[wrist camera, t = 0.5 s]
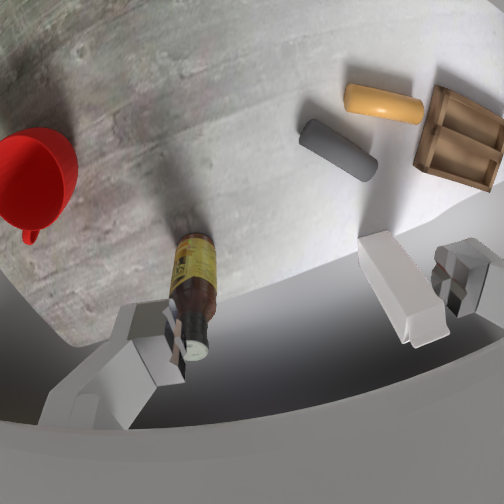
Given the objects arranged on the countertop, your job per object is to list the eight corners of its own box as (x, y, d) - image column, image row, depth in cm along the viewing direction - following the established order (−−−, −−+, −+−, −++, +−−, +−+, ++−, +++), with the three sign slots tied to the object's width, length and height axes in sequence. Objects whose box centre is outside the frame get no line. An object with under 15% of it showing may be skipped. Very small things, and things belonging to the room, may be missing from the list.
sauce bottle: (181, 227, 48) (167, 324, 32) (220, 236, 50) (226, 334, 33) (172, 261, 51) (159, 361, 35) (210, 269, 53) (211, 369, 36)
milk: (387, 256, 55) (447, 346, 37) (357, 265, 56) (410, 361, 38) (388, 228, 52) (456, 318, 34) (356, 237, 52) (417, 334, 34)
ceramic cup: (18, 210, 42) (-12, 242, 34) (25, 110, 34) (-14, 127, 26) (83, 228, 46) (61, 265, 38) (100, 124, 38) (72, 144, 29)
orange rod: (342, 110, 40) (353, 113, 37) (345, 83, 38) (357, 83, 35) (407, 122, 42) (421, 127, 38) (410, 97, 40) (425, 100, 36)
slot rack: (435, 84, 38) (446, 87, 36) (501, 119, 41) (512, 124, 39) (412, 165, 46) (422, 172, 43) (480, 185, 49) (489, 192, 46)
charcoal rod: (296, 139, 42) (302, 148, 39) (311, 116, 40) (319, 122, 37) (355, 175, 46) (365, 186, 43) (370, 154, 44) (381, 164, 41)
